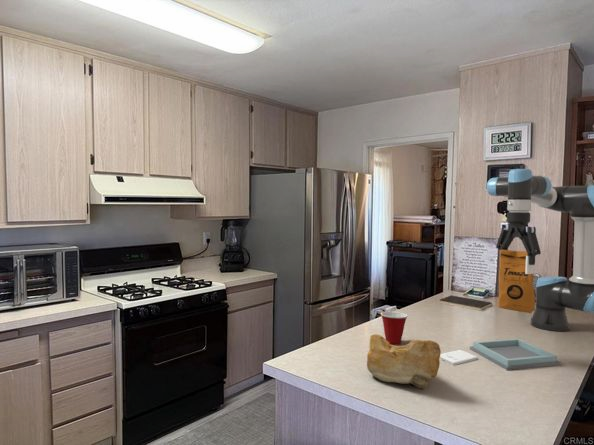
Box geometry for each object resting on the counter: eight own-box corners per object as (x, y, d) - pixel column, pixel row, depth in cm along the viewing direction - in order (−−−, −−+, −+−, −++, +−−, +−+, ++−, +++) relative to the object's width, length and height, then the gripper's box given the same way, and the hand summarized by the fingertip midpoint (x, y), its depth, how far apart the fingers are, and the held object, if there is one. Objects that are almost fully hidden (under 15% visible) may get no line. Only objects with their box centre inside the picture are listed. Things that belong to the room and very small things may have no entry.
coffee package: (532, 315, 143) (535, 253, 141) (494, 309, 150) (496, 250, 149) (537, 309, 150) (539, 250, 149) (500, 303, 158) (502, 247, 157)
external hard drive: (477, 361, 149) (453, 366, 143) (459, 353, 156) (435, 358, 151) (477, 356, 149) (453, 362, 143) (459, 349, 156) (435, 354, 151)
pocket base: (517, 345, 164) (518, 337, 164) (560, 364, 145) (560, 356, 144) (469, 349, 159) (470, 341, 159) (507, 370, 140) (507, 361, 139)
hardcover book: (480, 311, 215) (480, 307, 215) (439, 303, 231) (439, 299, 231) (491, 306, 226) (492, 302, 226) (451, 298, 242) (451, 295, 242)
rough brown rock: (451, 382, 132) (452, 335, 132) (435, 397, 118) (436, 345, 119) (384, 366, 145) (385, 324, 146) (363, 379, 132) (364, 332, 132)
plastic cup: (409, 340, 168) (410, 311, 168) (404, 348, 159) (405, 318, 158) (383, 336, 173) (383, 308, 172) (377, 344, 163) (377, 315, 163)
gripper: (487, 210, 159) (485, 265, 161) (536, 212, 136) (533, 277, 137) (503, 210, 161) (501, 265, 162) (554, 212, 138) (551, 276, 139)
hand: (516, 270), depth 150 cm, fingers closed on coffee package, 12 cm apart
